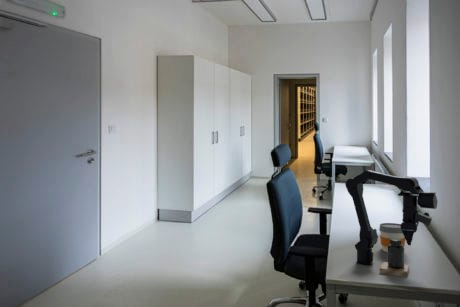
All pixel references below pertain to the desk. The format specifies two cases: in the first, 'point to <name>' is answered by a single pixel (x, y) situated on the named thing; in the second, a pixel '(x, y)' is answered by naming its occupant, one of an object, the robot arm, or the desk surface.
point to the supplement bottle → (396, 254)
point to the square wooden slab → (394, 270)
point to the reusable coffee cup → (390, 234)
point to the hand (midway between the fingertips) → (410, 242)
